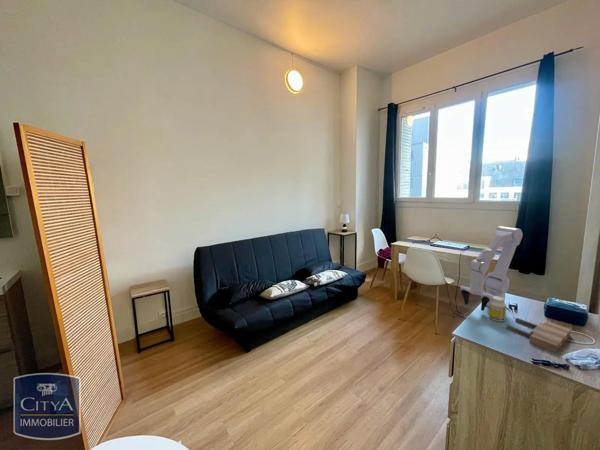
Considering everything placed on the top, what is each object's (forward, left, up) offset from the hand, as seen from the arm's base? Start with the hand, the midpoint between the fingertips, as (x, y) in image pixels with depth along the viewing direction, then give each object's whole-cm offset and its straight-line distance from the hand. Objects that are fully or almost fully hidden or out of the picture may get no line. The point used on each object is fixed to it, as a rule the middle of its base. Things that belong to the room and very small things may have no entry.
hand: (474, 306), depth 131 cm
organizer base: (0, +25, -2) cm, 25 cm away
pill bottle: (0, +10, -2) cm, 10 cm away
